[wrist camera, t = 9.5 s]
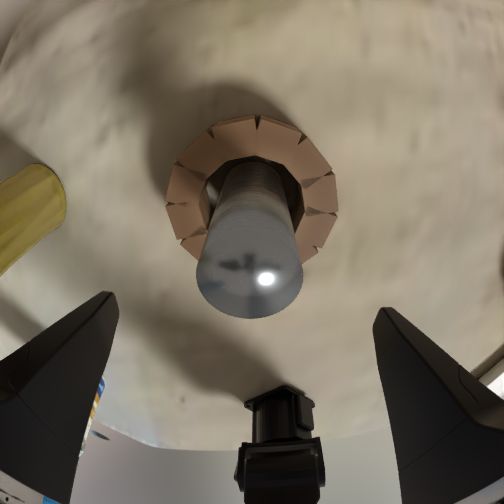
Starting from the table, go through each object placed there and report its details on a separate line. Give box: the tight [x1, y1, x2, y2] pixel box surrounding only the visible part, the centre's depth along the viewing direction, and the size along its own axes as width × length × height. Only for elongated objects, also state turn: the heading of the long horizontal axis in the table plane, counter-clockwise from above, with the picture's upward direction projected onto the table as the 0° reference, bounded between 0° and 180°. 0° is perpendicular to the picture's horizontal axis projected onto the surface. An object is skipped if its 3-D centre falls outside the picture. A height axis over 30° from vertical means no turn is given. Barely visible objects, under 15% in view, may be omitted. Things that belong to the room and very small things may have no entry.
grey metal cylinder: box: [196, 162, 303, 319], centre depth 15 cm, size 4×4×10 cm
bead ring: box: [165, 115, 338, 264], centre depth 18 cm, size 10×10×3 cm
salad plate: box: [478, 358, 504, 400], centre depth 34 cm, size 21×21×3 cm
